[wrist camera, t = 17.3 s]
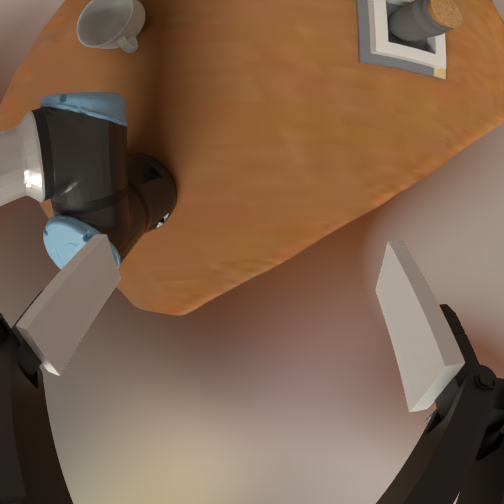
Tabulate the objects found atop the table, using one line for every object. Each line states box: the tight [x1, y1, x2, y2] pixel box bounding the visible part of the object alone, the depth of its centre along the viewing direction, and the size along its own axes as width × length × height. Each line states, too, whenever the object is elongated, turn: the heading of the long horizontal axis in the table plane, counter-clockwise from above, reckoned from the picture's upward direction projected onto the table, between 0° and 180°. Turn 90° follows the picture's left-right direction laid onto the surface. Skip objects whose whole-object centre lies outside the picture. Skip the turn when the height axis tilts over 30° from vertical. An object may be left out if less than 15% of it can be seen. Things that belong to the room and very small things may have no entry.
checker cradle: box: [356, 0, 446, 81], centre depth 28 cm, size 16×16×4 cm
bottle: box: [387, 0, 463, 42], centre depth 23 cm, size 6×6×15 cm
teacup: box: [77, 0, 145, 54], centre depth 31 cm, size 14×11×8 cm
